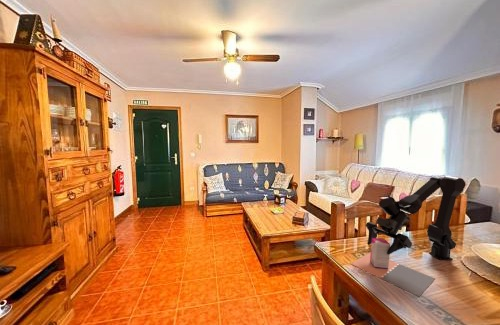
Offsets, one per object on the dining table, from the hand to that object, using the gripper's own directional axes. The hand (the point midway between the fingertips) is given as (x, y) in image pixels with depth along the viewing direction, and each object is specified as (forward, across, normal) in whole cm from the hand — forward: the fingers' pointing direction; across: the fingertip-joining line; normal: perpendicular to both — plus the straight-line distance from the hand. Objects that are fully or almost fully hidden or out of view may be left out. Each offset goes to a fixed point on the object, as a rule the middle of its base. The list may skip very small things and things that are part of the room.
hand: (377, 249), depth 97 cm
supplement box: (+4, 0, +7) cm, 8 cm away
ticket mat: (+4, +5, +7) cm, 10 cm away
